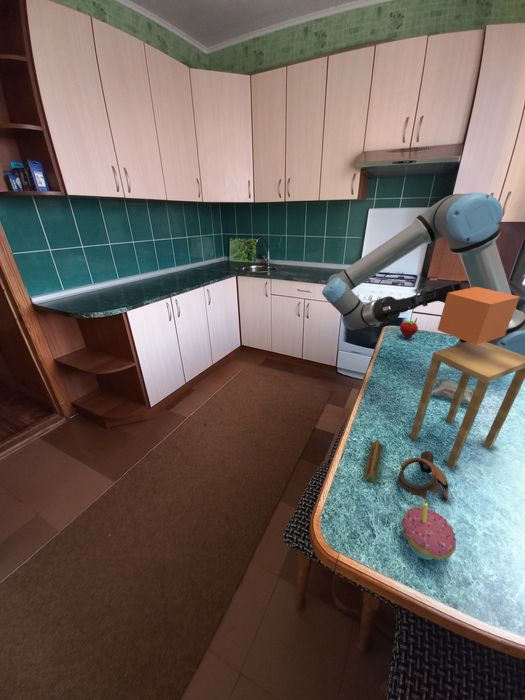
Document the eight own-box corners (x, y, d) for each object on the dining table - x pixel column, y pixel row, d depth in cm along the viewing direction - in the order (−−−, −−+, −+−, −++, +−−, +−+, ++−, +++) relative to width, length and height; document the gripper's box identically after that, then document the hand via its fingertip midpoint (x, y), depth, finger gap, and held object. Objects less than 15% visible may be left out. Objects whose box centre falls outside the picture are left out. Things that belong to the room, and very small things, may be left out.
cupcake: (398, 560, 52) (412, 518, 46) (396, 517, 59) (409, 476, 53) (452, 579, 49) (475, 538, 44) (444, 531, 56) (463, 490, 51)
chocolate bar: (381, 447, 76) (383, 440, 74) (375, 483, 66) (377, 476, 65) (371, 444, 77) (372, 437, 76) (364, 479, 67) (365, 472, 66)
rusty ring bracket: (453, 516, 59) (442, 494, 56) (404, 509, 65) (391, 489, 62) (451, 463, 67) (441, 442, 64) (407, 461, 73) (396, 441, 70)
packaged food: (471, 412, 87) (476, 398, 85) (428, 397, 94) (432, 384, 92) (475, 399, 93) (480, 386, 91) (434, 385, 100) (438, 373, 98)
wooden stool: (448, 419, 85) (477, 338, 73) (492, 446, 75) (533, 359, 63) (409, 436, 79) (433, 352, 67) (451, 469, 69) (488, 377, 57)
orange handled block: (428, 310, 80) (437, 277, 76) (504, 335, 65) (520, 296, 60) (402, 316, 76) (409, 282, 72) (476, 345, 61) (490, 304, 57)
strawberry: (399, 334, 138) (404, 314, 133) (416, 338, 133) (421, 318, 129) (395, 338, 134) (399, 318, 129) (412, 342, 129) (418, 321, 125)
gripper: (402, 318, 91) (481, 300, 70) (365, 327, 86) (439, 310, 64) (396, 295, 91) (474, 270, 70) (359, 303, 86) (431, 277, 64)
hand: (457, 289), depth 67 cm, fingers closed on orange handled block, 2 cm apart
